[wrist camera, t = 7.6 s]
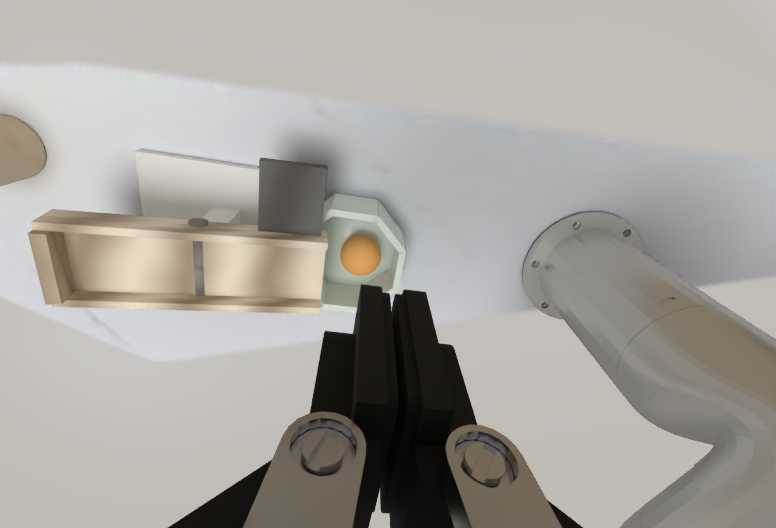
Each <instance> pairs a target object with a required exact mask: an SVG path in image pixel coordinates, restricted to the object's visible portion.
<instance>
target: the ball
mask: <svg viewBox="0 0 776 528" xmlns="http://www.w3.org/2000/svg"><path fill="white" fill-rule="evenodd" d="M340 259H341V263H342V265H343V267H344V268H345V269H346V270H347V271H348V272H349V273H351V274H353V275H356V276H365V275H368V274H370V273H372V272H373V271H374V270H375V269H376V268H377V267H378V265H379V263H380V260H381V251H380V248H379V246H378V244H377V243H376V242H375V241H374V240H373V239H372V238H370V237H368V236H364V235H357V236H353V237H351V238H349V239H348V240H347V241H346V242H345V243H344V244H343V246H342V248H341V252H340Z"/></svg>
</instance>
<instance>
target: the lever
mask: <svg viewBox="0 0 776 528" xmlns="http://www.w3.org/2000/svg"><path fill="white" fill-rule="evenodd" d="M327 170H328V168H327V166H325V165H316V164H308V163H300V162H291V161H283V160H274V159H266V158H260V161H259V206H258V225H246V224H234V223H221V222H209V221H208V220H207V219H204V218H193V219H190V220H183V219H171V218H158V217H146V216H133V215H120V214H108V213H95V212H83V211H70V210H57V209H52V210H50V211H49V212H47V213H45V214H44V215H42V216H40V217H38V218H37V219H35V220H33V221H32V222H31V223H32V227H33V230H32V231H31V232H29V233H28V236H29V240H30V244H31V248H32V252H33V256H34V260H35V264H36V268H37V272H38V276H39V280H40V284H41V288H42V292H43V296H44V300H45V304H51V305H52V307H88V308H124V309H160V310H196V311H233V312H269V313H305V314H321V291H322V282H323V272H324V262H325V253H326V250H328V238H327V231H322V222H323V212H324V201H325V191H326V181H327Z"/></svg>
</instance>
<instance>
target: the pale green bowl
mask: <svg viewBox="0 0 776 528" xmlns="http://www.w3.org/2000/svg"><path fill="white" fill-rule="evenodd" d="M322 231H327V238H328V250H326V253H325V262H324V272H323V282H322V291H321V309H327V310H336V311H345V312H353V313H356V312H357V305H358V299H359V292H360V286H361V284H364V285H372V286H380V287H382V292H384V293H390V296H392V295H393V294H395V293H396V292H398V290H399V285H400V280H401V275H402V270H403V265H404V260H405V255H406V249H405V244H404V239H403V234H402V230H401V229H400V228H399V227H398V225H397V224H396V223H395V221H394V220H393V219H392V217H391V216H390V215H389V213H388V212H387V211H386V209H385V208H384V207H383V205H382V204H381V203H380V201H379V200H378V201H377V199H372V198H365V197H358V196H351V195H345V194H338V193H336V194H333V195H332V196H331V197H329V198H328V199H327V200H325V201H324V212H323V222H322ZM357 235H364V236H368V237H370V238H372V239H373V240H374V241H375V242H376V243H377V244H378V246H379V248H380V251H381V260H380V263H379V265H378V267H377V268H376V269H375V270H374V271H373V272H372V273H370V274H368V275H365V276H356V275H353V274H351V273H349V272H348V271H347V270H346V269H345V268H344V267H343V265H342V263H341V259H340V252H341V248H342V246H343V244H344V243H345V242H346V241H347V240H348V239H349V238H351V237H353V236H357Z"/></svg>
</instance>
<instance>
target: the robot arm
mask: <svg viewBox="0 0 776 528" xmlns="http://www.w3.org/2000/svg"><path fill="white" fill-rule="evenodd" d="M523 284H524V288H525V291H526V293H527V295H528V297H529V299H530V300H531V301H532V302H533V304H534V305H535V306H536V307H537V308H538V309H539V310H540V311H542V312H543V313H545V314H547V315H549V316H552V317H555V318H558V319H564V320H565V321H566V323H567V324H568V325H569V327H570V328H571V329H572V330H573V332H574V333H575V334H576V336H578V338H579V339H580V341H581V342H582V343H583V344H584V346H585V347H586V348H587V350H588V351H589V352H590V353H591V355H592V356H593V357H594V358H595V360H596V361H597V362H598V364H599V365H600V366H601V367H602V369H603V370H604V371H605V372H606V374H607V375H608V376H609V378H610V379H611V380H612V381H613V383H614V384H615V385H616V386H617V388H618V389H619V390H620V392H621V393H622V394H623V395H624V396H625V398H626V399H627V400H628V401H629V403H630V404H631V405H632V406H633V407H634V409H635V410H636V411H637V412H638V413H640V414H641V415H642V416H643V417H644V418H645V419H647V420H648V421H649V422H651V423H653V424H654V425H656V426H657V427H659V428H661V429H663V430H666V431H668V432H670V433H673V434H675V435H678V436H681V437H685V438H688V439H692V440H695V441H699V442H703V443H707V444H712V445H714V446H713V448H712V449H711V451H710V452H709V453H708V454H707V455H706V456H705V457H703V458H702V459H701V460H700V461H699V462H697V463H696V464H695V465H694V467H693V468H692V469H690V470H689V471H688V472H687V473H685V474H684V475H683V476H681V477H680V478H679V479H677V480H676V481H675V482H673V483H672V484H671V485H670V486H668V487H667V488H666V489H664V490H663V491H662V492H660V493H659V494H658V495H656V496H655V497H654V498H653V499H651V500H650V501H649V502H647V503H646V504H645V505H644V506H643V507H642V508H640V509H639V510H638V511H637V512H635V513H634V514H633V515H632V516H631V517H630V518H629V519H628V520H626V521H625V522H624V523H623V525H622V526H621V527H620V528H776V339H775V338H773V337H771V336H770V335H768V334H766V333H765V332H763V331H762V330H760V329H759V328H757V327H755V326H754V325H752V324H751V323H749V322H748V321H746V320H745V319H743V318H742V317H740V316H739V315H737V314H736V313H734V312H732V311H731V310H729V309H728V308H726V307H725V306H723V305H721V304H720V303H718V302H717V301H716V300H714V299H712V298H711V297H709V296H708V295H706V294H705V293H703V292H702V291H700V290H699V289H697V288H696V287H694V286H693V285H691V284H690V283H688V282H687V281H685V280H684V279H682V278H681V277H679V276H678V275H676V274H675V273H673V272H672V271H670V270H669V269H667V268H665V267H664V266H662V265H661V264H659V263H658V262H656V261H655V260H653V259H652V258H650V257H649V256H647V255H646V254H644V252H643V245H642V242H641V239H640V236H639V235H638V233H637V232H636V230H635V229H634V228H633V227H632V226H631V225H630V224H628V223H627V222H626V221H624V220H622V219H621V218H619V217H616V216H614V215H611V214H609V213H602V212H585V213H581V214H576V215H573V216H570V217H568V218H565V219H563V220H561V221H559V222H558V223H556V224H554V225H553V226H551V227H550V228H549V229H548V230H546V231H545V232H544V233H543V234H542V235H541V236H540V237H539V238H538V239H537V240H536V242H535V243H534V244H533V246H532V248H531V249H530V251H529V252H528V255H527V257H526V260H525V263H524V268H523ZM379 490H380V499H381V500H380V501H381V502H380V503H381V512H382V513H390V528H583V527H581V526H580V525H579V524H577V523H576V522H575V521H574V520H572V519H571V518H570V517H568V516H567V515H566V514H565V513H563V512H562V511H561V510H559V509H558V508H557V507H556V506H554V505H553V504H551V503H550V502H549V501H548V500H547V499H546V497H545V496H544V494H543V492H542V490H541V489H540V487H539V485H538V483H537V481H536V479H535V478H534V476H533V474H532V472H531V470H530V469H529V467H528V465H527V463H526V461H525V459H524V458H523V456H522V454H521V453H520V452H519V450H518V449H517V447H516V446H515V445H514V444H513V443H512V442H511V441H510V440H509V439H508V438H506V437H505V436H504V435H502V434H501V433H499V432H497V431H495V430H494V429H491V428H488V427H484V426H481V425H477V423H476V419H475V416H474V412H473V409H472V406H471V402H470V399H469V396H468V393H467V389H466V386H465V383H464V379H463V376H462V373H461V369H460V366H459V363H458V360H457V356H456V353H455V350H454V348H453V346H452V345H447V344H439V343H438V339H437V335H436V331H435V327H434V323H433V319H432V315H431V311H430V307H429V303H428V299H427V295H426V292H420V291H412V290H404V291H403V293H402V295H400V294H395V297H394V301H393V306H392V312H391V303H390V293H384V292H382V287H380V286H372V285H364V284H361V286H360V292H359V299H358V305H357V312H356V318H355V325H354V332H353V334H348V333H339V332H330V331H325V332H324V337H323V343H322V348H321V354H320V360H319V365H318V371H317V377H316V382H315V388H314V393H313V399H312V405H311V410H310V414H307V415H305V416H303V417H300V418H298V419H297V420H296V421H295V422H293V423H292V424H291V425H290V426H289V427H288V429H287V430H286V431H285V433H284V435H283V437H282V438H281V441H280V443H279V445H278V448H277V450H276V452H275V455H274V457H273V459H272V460H271V461H269V462H268V463H266V464H265V465H263V466H262V467H260V468H259V469H257V470H256V471H254V472H252V473H251V474H250V475H248V476H247V477H245V478H243V479H242V480H241V481H239V482H237V483H236V484H234V485H233V486H231V487H230V488H228V489H227V490H225V491H224V492H222V493H220V494H219V495H217V496H216V497H214V498H213V499H211V500H210V501H208V502H207V503H205V504H204V505H202V506H200V507H199V508H198V509H196V510H194V511H193V512H191V513H190V514H188V515H187V516H185V517H184V518H182V519H181V520H179V521H178V522H176V523H175V524H173V525H172V526H170V527H168V528H368V527H369V522H370V519H371V514H372V512H374V510H375V506H376V502H377V498H378V494H379Z"/></svg>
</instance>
